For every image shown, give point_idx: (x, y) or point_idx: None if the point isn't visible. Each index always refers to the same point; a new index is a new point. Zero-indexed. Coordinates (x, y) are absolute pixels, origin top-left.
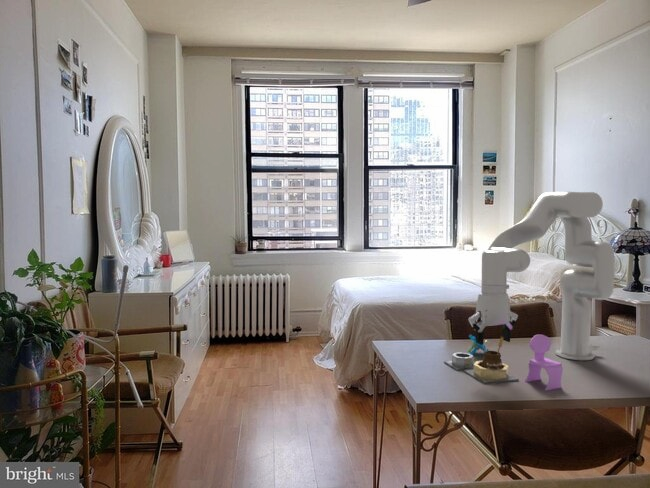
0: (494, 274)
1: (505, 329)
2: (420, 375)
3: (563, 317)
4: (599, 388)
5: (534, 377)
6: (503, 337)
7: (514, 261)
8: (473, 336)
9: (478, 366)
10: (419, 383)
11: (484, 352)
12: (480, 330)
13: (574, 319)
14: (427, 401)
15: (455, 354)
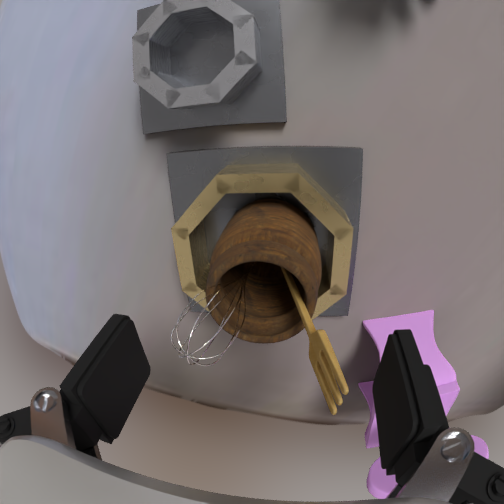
0: None
1: (396, 450)
2: (22, 173)
3: None
4: (482, 383)
5: (404, 328)
6: (391, 358)
7: None
8: None
9: (182, 263)
10: (17, 242)
11: (208, 283)
12: (84, 444)
13: None
14: (39, 340)
15: (154, 28)
